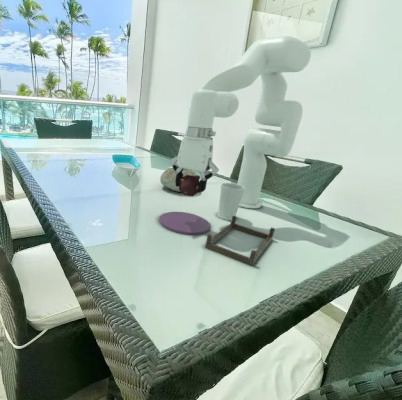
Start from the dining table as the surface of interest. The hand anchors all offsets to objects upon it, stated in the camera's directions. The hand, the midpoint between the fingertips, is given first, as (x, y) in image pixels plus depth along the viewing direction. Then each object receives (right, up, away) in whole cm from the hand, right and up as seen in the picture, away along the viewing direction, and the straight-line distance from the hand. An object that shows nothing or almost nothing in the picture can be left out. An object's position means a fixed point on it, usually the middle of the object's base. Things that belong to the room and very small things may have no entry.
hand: (189, 188), depth 89 cm
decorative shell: (+4, +1, +42) cm, 42 cm away
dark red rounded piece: (0, -2, +1) cm, 3 cm away
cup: (+17, -10, +13) cm, 23 cm away
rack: (+14, -17, -7) cm, 23 cm away
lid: (-1, -12, +4) cm, 13 cm away
